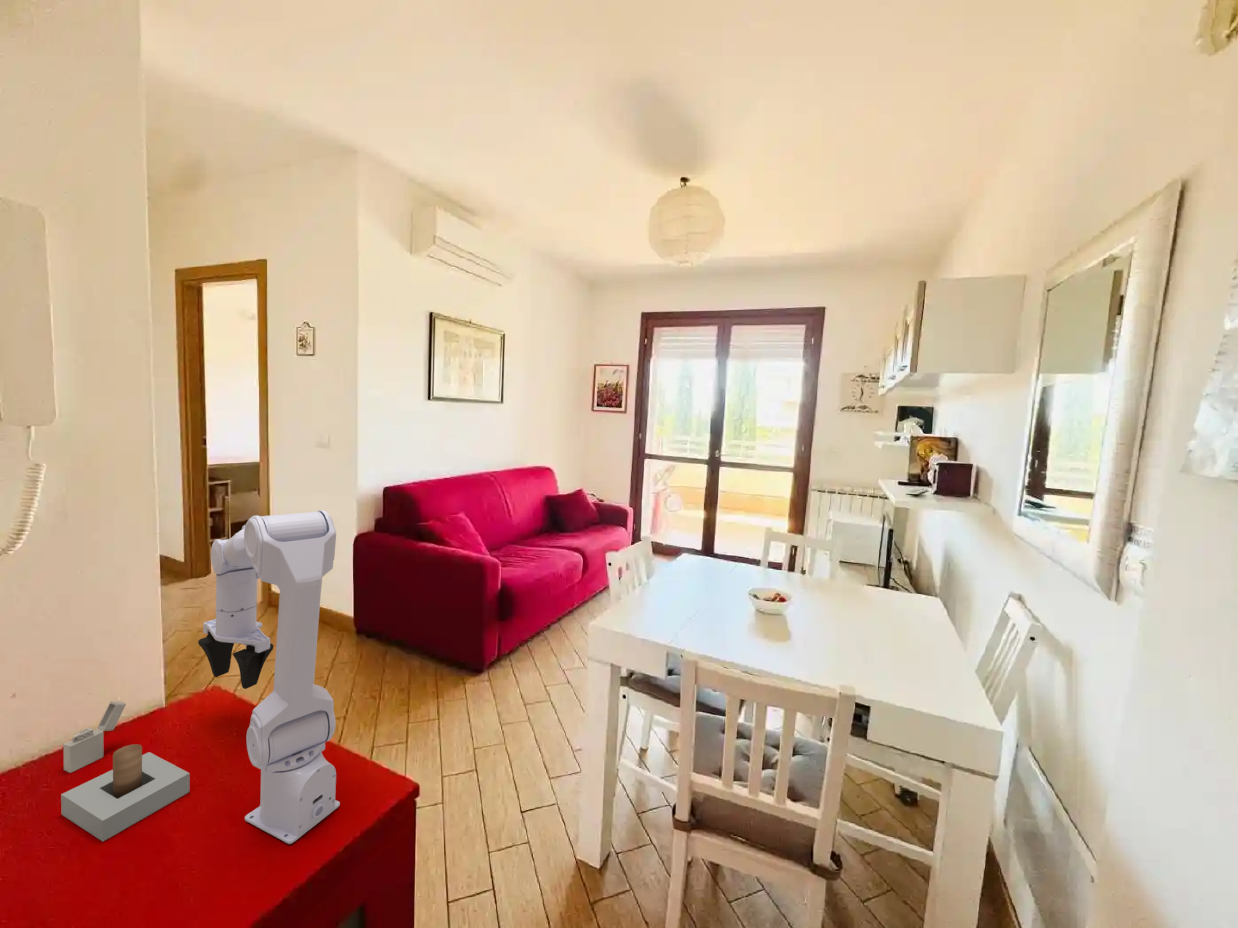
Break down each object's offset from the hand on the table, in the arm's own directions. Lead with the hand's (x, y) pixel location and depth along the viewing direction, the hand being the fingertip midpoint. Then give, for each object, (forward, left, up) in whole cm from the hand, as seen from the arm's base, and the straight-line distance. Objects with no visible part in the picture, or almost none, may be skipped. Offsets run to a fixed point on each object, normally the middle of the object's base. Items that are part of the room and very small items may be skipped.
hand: (235, 679), depth 90 cm
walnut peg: (-4, +17, -9) cm, 20 cm away
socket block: (-4, +17, -9) cm, 20 cm away
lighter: (+11, +14, -10) cm, 20 cm away
